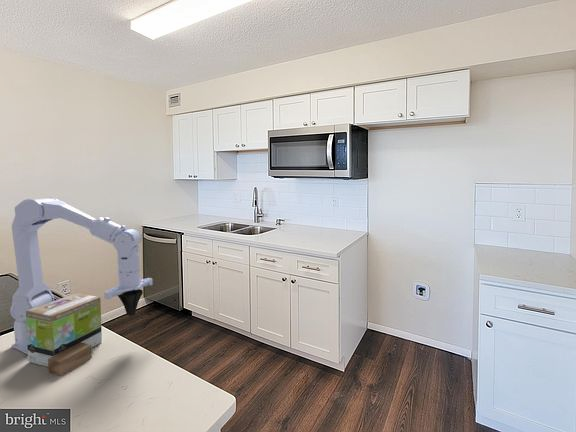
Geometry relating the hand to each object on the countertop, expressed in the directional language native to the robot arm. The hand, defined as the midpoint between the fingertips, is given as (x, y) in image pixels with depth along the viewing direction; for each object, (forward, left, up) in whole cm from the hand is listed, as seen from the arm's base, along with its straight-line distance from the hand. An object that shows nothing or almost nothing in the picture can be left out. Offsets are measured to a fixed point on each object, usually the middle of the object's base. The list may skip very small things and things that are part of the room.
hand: (131, 314), depth 96 cm
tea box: (-12, -12, -10) cm, 19 cm away
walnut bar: (-5, -15, -10) cm, 18 cm away
